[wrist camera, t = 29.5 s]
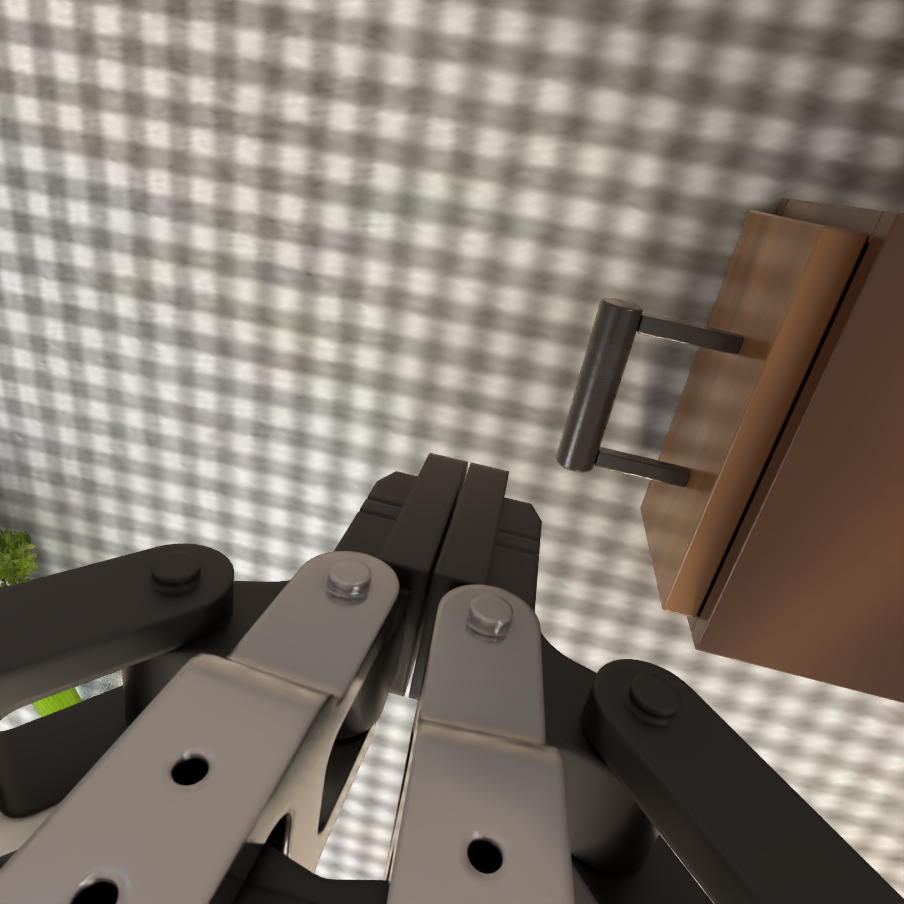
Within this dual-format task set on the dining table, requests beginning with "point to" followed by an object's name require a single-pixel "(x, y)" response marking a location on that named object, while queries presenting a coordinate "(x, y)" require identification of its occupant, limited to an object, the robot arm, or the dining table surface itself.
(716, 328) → the drawer
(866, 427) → the cabinet
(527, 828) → the robot arm
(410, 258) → the dining table surface
